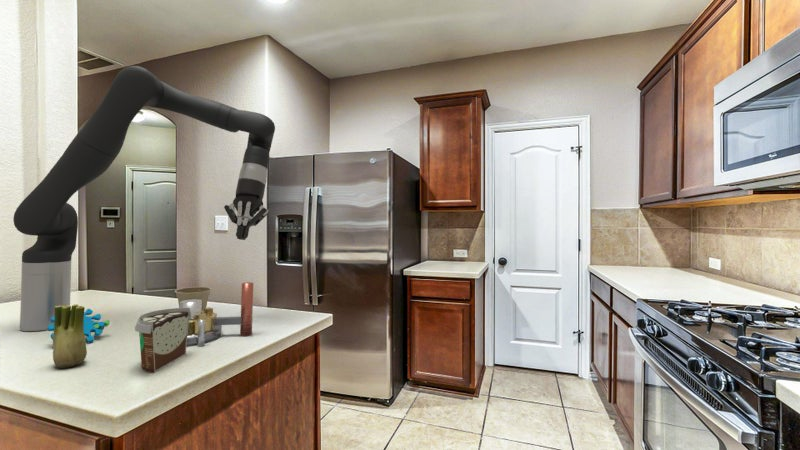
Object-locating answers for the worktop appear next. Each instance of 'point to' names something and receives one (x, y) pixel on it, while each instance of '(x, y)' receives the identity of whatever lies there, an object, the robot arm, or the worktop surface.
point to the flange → (199, 325)
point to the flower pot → (194, 294)
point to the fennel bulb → (69, 336)
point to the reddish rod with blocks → (242, 320)
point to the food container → (162, 337)
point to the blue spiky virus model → (87, 325)
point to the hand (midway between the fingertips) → (241, 239)
